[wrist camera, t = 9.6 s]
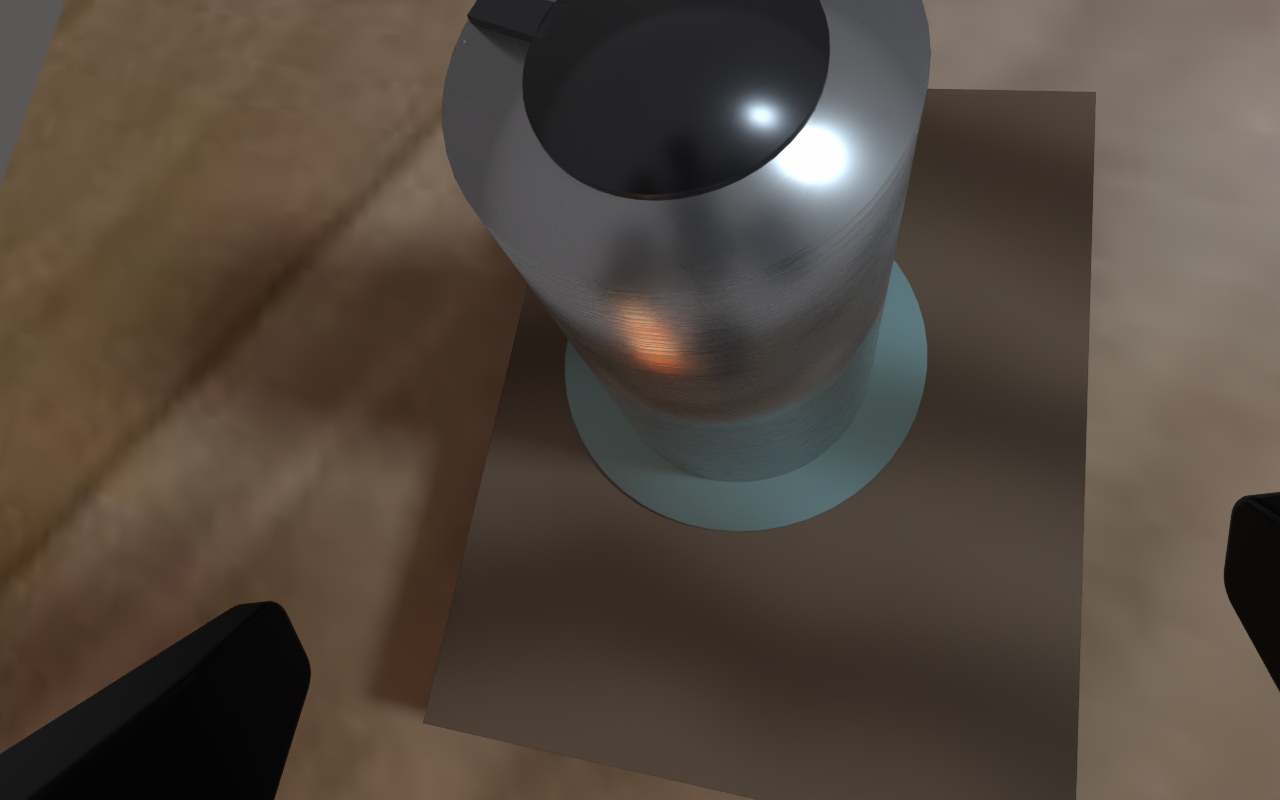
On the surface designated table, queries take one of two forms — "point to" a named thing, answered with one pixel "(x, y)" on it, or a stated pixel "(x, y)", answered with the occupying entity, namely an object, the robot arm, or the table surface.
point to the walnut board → (821, 526)
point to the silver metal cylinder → (700, 201)
